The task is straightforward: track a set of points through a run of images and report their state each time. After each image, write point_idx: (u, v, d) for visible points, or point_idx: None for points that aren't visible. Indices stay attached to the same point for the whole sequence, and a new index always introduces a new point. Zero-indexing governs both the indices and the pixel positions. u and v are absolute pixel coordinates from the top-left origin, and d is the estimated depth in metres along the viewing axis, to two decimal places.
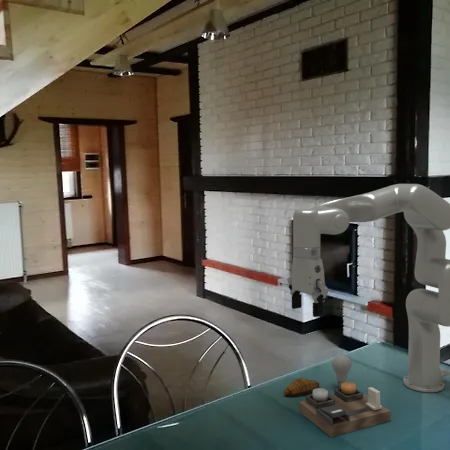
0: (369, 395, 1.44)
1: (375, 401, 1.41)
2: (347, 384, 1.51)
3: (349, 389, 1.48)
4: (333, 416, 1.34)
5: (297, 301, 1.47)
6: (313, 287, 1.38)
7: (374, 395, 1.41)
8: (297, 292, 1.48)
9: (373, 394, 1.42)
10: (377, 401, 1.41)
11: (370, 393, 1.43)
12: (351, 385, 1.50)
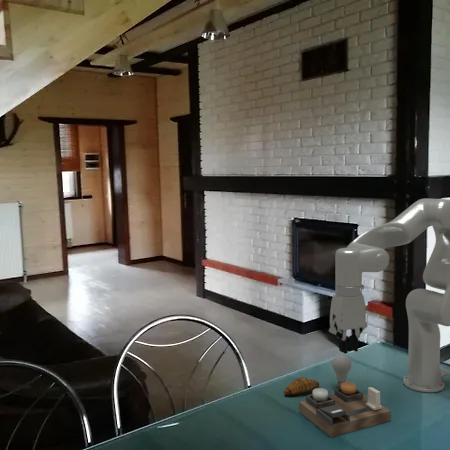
0: (369, 395, 1.44)
1: (375, 401, 1.41)
2: (347, 384, 1.51)
3: (349, 389, 1.48)
4: (333, 416, 1.34)
5: None
6: None
7: (374, 395, 1.41)
8: None
9: (373, 394, 1.42)
10: (377, 401, 1.41)
11: (370, 393, 1.43)
12: (351, 385, 1.50)
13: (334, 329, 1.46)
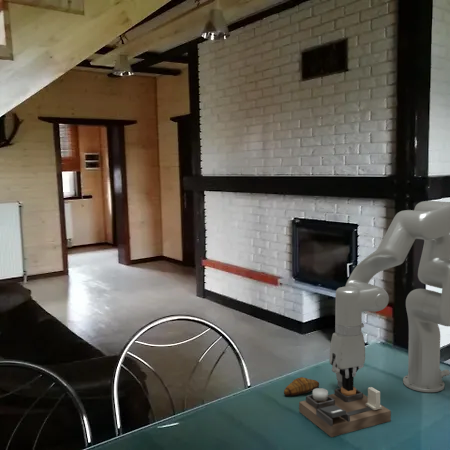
0: (369, 395, 1.44)
1: (375, 401, 1.41)
2: None
3: (349, 393, 1.48)
4: (333, 416, 1.34)
5: None
6: None
7: (374, 395, 1.41)
8: None
9: (373, 394, 1.42)
10: (377, 401, 1.41)
11: (370, 393, 1.43)
12: None
13: (336, 370, 1.47)
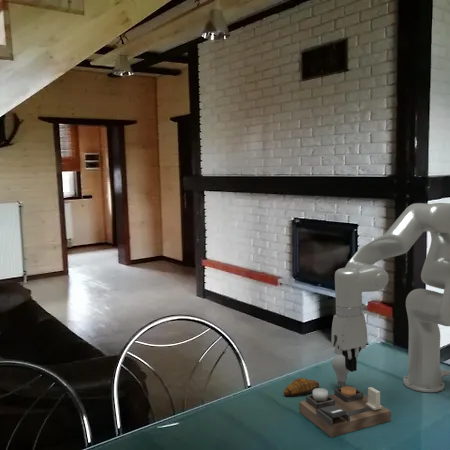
0: (369, 395, 1.44)
1: (375, 401, 1.41)
2: (347, 388, 1.51)
3: (349, 393, 1.48)
4: (333, 416, 1.34)
5: None
6: None
7: (374, 395, 1.41)
8: None
9: (373, 394, 1.42)
10: (377, 401, 1.41)
11: (370, 393, 1.43)
12: (351, 389, 1.50)
13: (338, 351, 1.47)
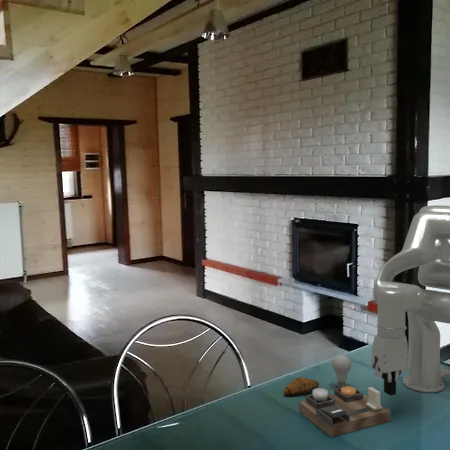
0: (369, 395, 1.44)
1: (375, 401, 1.41)
2: (347, 388, 1.51)
3: (349, 393, 1.48)
4: (333, 416, 1.34)
5: None
6: None
7: (374, 395, 1.41)
8: None
9: (373, 394, 1.42)
10: (377, 401, 1.41)
11: (370, 393, 1.43)
12: (351, 389, 1.50)
13: (378, 374, 1.42)
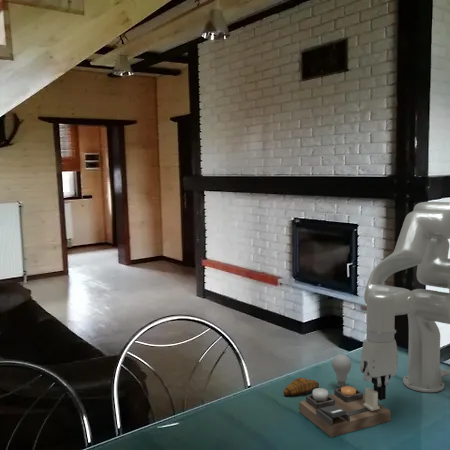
0: (367, 396, 1.43)
1: (373, 402, 1.41)
2: (347, 388, 1.51)
3: (349, 393, 1.48)
4: (333, 416, 1.34)
5: None
6: None
7: (371, 396, 1.41)
8: None
9: (370, 395, 1.42)
10: (375, 402, 1.41)
11: (368, 394, 1.43)
12: (351, 389, 1.50)
13: (368, 378, 1.40)
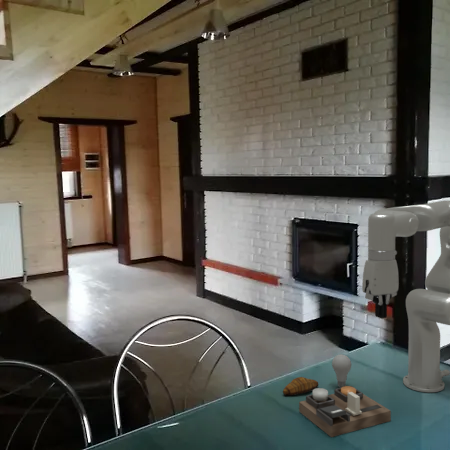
0: (349, 400, 1.41)
1: (354, 406, 1.39)
2: (347, 388, 1.51)
3: None
4: (333, 416, 1.34)
5: None
6: None
7: (353, 400, 1.39)
8: None
9: (352, 399, 1.39)
10: (356, 406, 1.38)
11: (350, 398, 1.40)
12: (351, 389, 1.50)
13: (369, 296, 1.45)
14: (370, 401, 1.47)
